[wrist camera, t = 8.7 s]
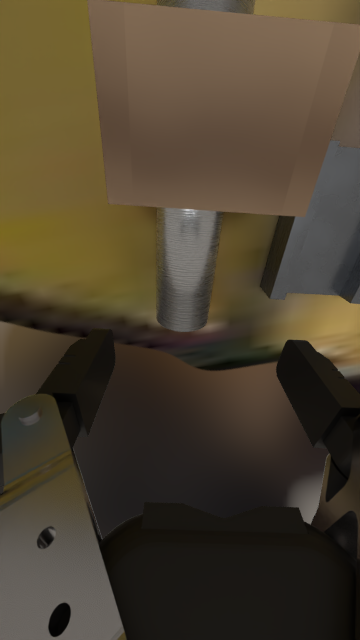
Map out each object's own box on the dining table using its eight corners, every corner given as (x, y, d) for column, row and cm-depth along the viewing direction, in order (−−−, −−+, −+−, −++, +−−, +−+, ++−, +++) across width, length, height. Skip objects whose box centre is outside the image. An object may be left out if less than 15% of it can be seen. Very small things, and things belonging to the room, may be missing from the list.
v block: (298, 146, 14) (319, 139, 12) (413, 155, 14) (453, 150, 12) (260, 286, 19) (269, 298, 17) (344, 291, 20) (364, 304, 18)
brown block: (138, 102, 13) (87, -2, 6) (267, 112, 13) (368, 25, 6) (141, 196, 16) (108, 203, 9) (248, 203, 16) (304, 217, 9)
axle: (166, 5, 12) (145, -86, 8) (251, 6, 11) (273, -88, 7) (161, 303, 21) (151, 328, 17) (207, 307, 21) (207, 334, 17)
